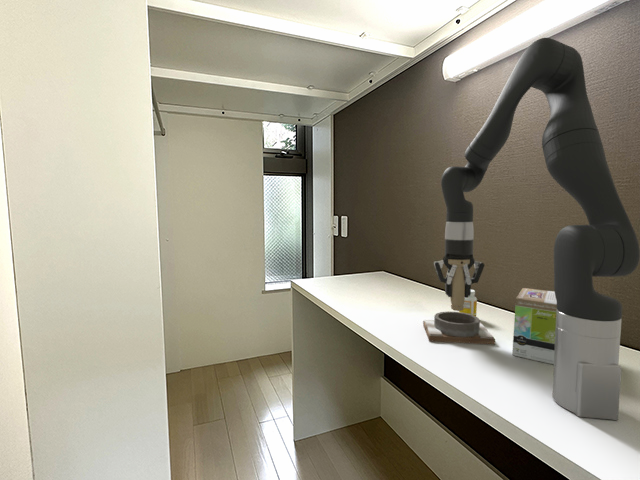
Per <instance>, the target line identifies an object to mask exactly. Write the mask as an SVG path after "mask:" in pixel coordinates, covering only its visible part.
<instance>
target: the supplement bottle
mask: <svg viewBox="0 0 640 480" xmlns="http://www.w3.org/2000/svg"><path fill="white" fill-rule="evenodd" d="M475 295H476V291H475V290H474V289H471V294H470V296H468V298H465V299H464V305H463V306H464V308H463V310H461V311H458V312H461V313H467V314H471V315H473V316H476V317H477V311H478V310H477V304H478V298H477V297H476V296H475Z"/></svg>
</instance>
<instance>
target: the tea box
mask: <svg viewBox="0 0 640 480" xmlns="http://www.w3.org/2000/svg"><path fill="white" fill-rule="evenodd" d="M514 307H515V308H514V321H513V322H514V323H513V338H512V339H513V340H512V356H515V357H519V358H522V359H527V360H532V361H535V362H540V363H541V362H542V363H546V364H549V365H554V350H555V329H556V310H557V300H556V296H555V291H554V290H553V291H552V290H545V289H544V290H543V289H536V288H528V287H527V288H526V287H522V289H521V290H520V292H519V293H518V295H516V297H515V305H514Z"/></svg>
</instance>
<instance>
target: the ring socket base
mask: <svg viewBox="0 0 640 480" xmlns="http://www.w3.org/2000/svg"><path fill="white" fill-rule="evenodd" d="M433 317H434V319H424V320H423V321H422V324H423V328H424V331H425V333H426V336H427V339H428V341H429V342H438V343H456V344H459V343H460V344H477V345H478V344H479V345H496V339H495V337H494V336H493V334H491V332H490V331H489V330H488V329H487V328H486V326H484V324H483V323H482V322H480V321H481V320H480V319H479V317H478V316H477V315H476V316H473V315H471V314H467V313H461V312H459V311H450V310H449V311H440V312H437V313H435V314H434V316H433Z"/></svg>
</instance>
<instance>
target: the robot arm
mask: <svg viewBox="0 0 640 480" xmlns="http://www.w3.org/2000/svg"><path fill="white" fill-rule="evenodd" d="M531 88H532V89H533V88H534V89H535V90H538V91H541V92H542V93H543V94H544V95H545V96H544V97H546V100H547V102H548V103H547V104H548V106H549V107H548V108H549V112H550V116H549V120H548V122H547V124H546V126H545V128H544V130H543V133H542V138H541V148H542V152H543V157H544V161H545V164H546V165H545V166H546V169H547V172H548V173H549V175H550V176H551V178H552V179H553V180H554V181H555V183H557V184H558V185H559V186H560V187H561V188H562V189H563V190H564V191H565V192H567V194H569V195H570V196H571V197H572V198H573V199H574V200H575V202H576V203H578V205H579V206H580V207H581V209H582V210H583V212H584V214H585V216H586V219H587V222H588V224H571V225H567V226H566V225H565V227H563V228H561V229H560V230H559V232H558V233H557V234H556V238H555V241H554V245H553V274H554V276H553V277H554V278H553V279H554V281H553V287H554V288H553V289H554V290H553V291H554V292H555V296H556V300H557V310H556V329H555V350H554V364H553V374H552V375H553V379H552V399H553V400H554V402H556V403H557V404H558V405H559V406H560V407H562V408H564V409H566V410H568V411H570V412H572V413H574V414H575V415H576V416H578V417H580V418H589V419H590V418H591V419H599V420H600V419H602V420H603V419H604V420H615V421H618V420H619V414H620V413H619V412H620V411H619V410H620V396H621V383H622V382H621V379H622V378H621V377H622V367H621V365H619V362H620V346H621V334H622V332H621V331H622V318H623V317H622V316H623V306H622V303H621V302H620V300H618V299H616V298H614V297H611V296H609V295H605V294H602V293H599V292H597V291H596V290H595V288H594V282H593V277H594V278H595V277H596V278H598V277H603V278H604V277H605V278H606V277H608V278H609V277H610V278H613V277H614V278H615V277H626V276H629V275H631V274H633V272H635V271H636V269H637V267H638V266H639V263H640V244H639V243H640V242H639V240H638V237H637V235H636V234H637V233H636V232H635V229H634V227H633V224H632V222H631V220H630V218H629V216H628V213H627V212H626V209H625V207H624V205H623V202H622V200H621V198H620V196H619V193H618V191H617V188H616V185H615V183H614V180H613V177H612V173H611V170H610V168H609V165H608V161H607V158H606V153H605V148H604V144H603V141H602V139H601V138H602V137H601V134H600V131H599V129H598V126H597V123H596V121H595V117H594V113H593V109H592V107H591V103H590V101H589V96H588V93H587V87H586V77H585V70H584V64H583V58H582V55H581V53H580V52H579V51H578V50H577V49H576V48H575V47H572V46H570V45H568V44H566V43H563V42H561V41H558V40H556V39H554V38H550V37H542V38H539V39H537V40H535V41H534V42H532V43H531V44H530V45H528V47H527V48H526V49H525V50H524V52H523V53H522V55H521V56H520V57H519V59H518V61H517V62H516V64H515V66H514V68H513V70H512V72H511V74H510V75H509V77H508V79H507V81H506V83H505V85H504V87H503V88H502V90H501V92H500V94H499V96H498V98H497V100H496V101H495V104H494V106H493V108H492V110H491V112H490V114H489V116H488V117H487V119H486V120H485V122H484V124H483V125H482V127H481V128H480V130H479V131H478V132H477V134H476V135H475V136H474V138H473V140H472V141H471V142H470V144H469V145H468V147H467V148H466V150H465V151H464V158H465V160H466V161H467V163H466V165H465V166H455V165H454V166H453V165H452V166H449V167H447V168H446V169H445V170H444V172H443V173H442V175H441V179H440V186H441V187H440V188H441V192H442V195H443V200H444V203H445V206H446V207H445V208H446V212H445V214H446V216H445V220H446V222H445V227H444V228H445V229H444V230H445V231H444V256H443V258H442V259H441V260H438V261H436V260H435V261H433V265H434V270H435V272H436V276H437V278H438V280H439V281H440V282H441V283H444V286H445V287H444V288H445V289H444V293H445V295H446V297H448V298H450V297H451V281H452V278H453V276H454V273H455V270H456V267H457V265H450V264H449V263H448V259H470V264H468V265H467V263H466V264H465V265H464V266H463V272H464V275H465V298H468V296H470V294H471V290H472V289H471V288H472V285H473V284H478V283H479V280H480V278H481V276H482V273H483V272H484V268H485V263H483V262H481V261H477V260H475V258H474V234H475V233H474V231H475V230H474V229H475V228H474V205H473V202H471V201H469V200H467V199H466V198H465V193H470V192H472V191H474V190H475V189H476V188H478V186H479V185H481V182H483V179H484V177H485V175H486V172H487V171H488V168H489V167H490V163H491V162H492V161H493V160H494V159H495V157H496V156H497V154H498V153H500V151H501V150H502V149H503V147H504V146H505V145H506V143H507V142H508V139H509V137H510V134H511V132H512V131H511V130H512V127H513V122H514V117H515V113H516V111H517V108H518V105H519V104H520V101H521V100H522V99H523V98H524V96H525V95H526V93H527V92H528V91H529V90H530V89H531ZM443 266H445V267H446V268H447V271H446V276H444V274H443V271H442V269H443ZM472 267H474V271H473V275H472V277H471V274H470V269H471V268H472Z"/></svg>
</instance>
